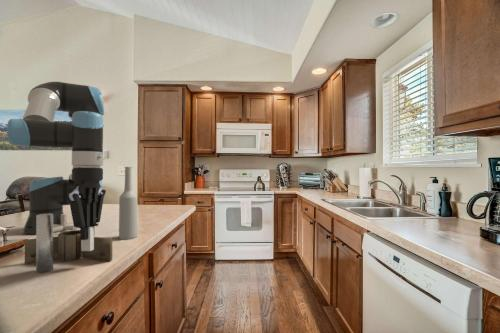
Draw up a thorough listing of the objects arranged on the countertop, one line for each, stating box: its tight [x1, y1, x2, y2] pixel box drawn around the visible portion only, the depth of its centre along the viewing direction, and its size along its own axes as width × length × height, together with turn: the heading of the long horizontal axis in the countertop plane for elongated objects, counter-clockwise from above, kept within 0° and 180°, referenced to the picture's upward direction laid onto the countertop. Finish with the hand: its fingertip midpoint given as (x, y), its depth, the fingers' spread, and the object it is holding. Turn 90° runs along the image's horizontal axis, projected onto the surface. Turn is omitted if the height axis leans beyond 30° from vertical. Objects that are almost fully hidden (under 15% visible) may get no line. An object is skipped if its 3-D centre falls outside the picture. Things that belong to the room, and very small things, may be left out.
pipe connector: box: [53, 213, 78, 234], centre depth 99 cm, size 10×10×10 cm
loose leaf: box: [82, 236, 113, 262], centre depth 79 cm, size 10×1×6 cm, turn 76°
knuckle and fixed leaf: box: [24, 229, 84, 265], centre depth 79 cm, size 7×15×8 cm, turn 116°
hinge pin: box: [35, 214, 54, 274], centre depth 71 cm, size 4×4×15 cm
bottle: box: [118, 166, 138, 240], centre depth 104 cm, size 7×7×28 cm
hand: (87, 250), depth 74 cm, fingers closed
